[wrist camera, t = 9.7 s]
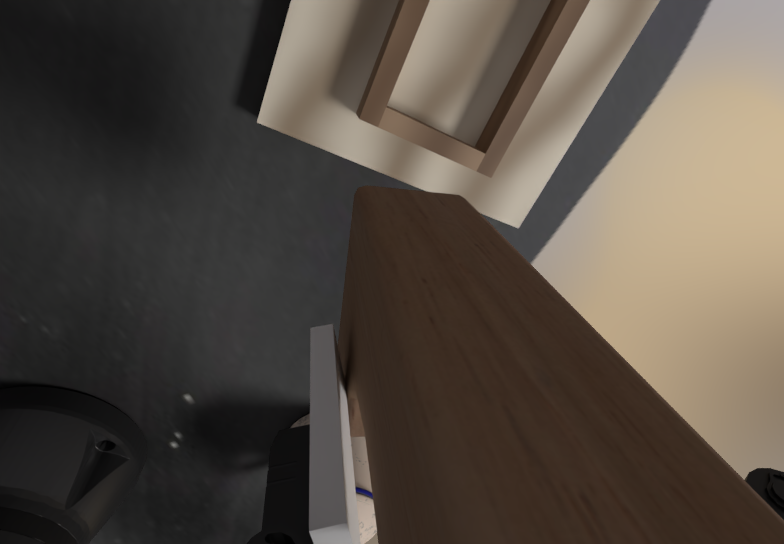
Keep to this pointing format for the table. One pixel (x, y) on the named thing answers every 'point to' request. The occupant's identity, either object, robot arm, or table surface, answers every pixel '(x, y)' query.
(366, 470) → the teacup with lid
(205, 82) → the table surface
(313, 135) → the keyed plate
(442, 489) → the wooden block
